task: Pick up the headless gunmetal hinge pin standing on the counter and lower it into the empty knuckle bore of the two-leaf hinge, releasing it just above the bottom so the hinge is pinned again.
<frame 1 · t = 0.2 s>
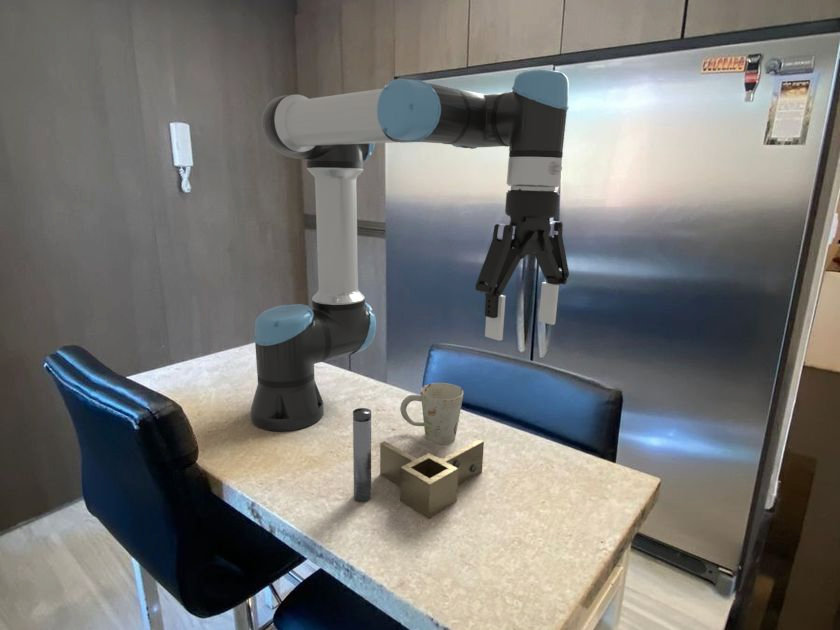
hand: (521, 330, 80), 28 cm above the counter, fingers open, 13 cm apart
hinge: (428, 501, 83), on the counter
pin: (362, 497, 84), on the counter
mug: (429, 436, 104), on the counter
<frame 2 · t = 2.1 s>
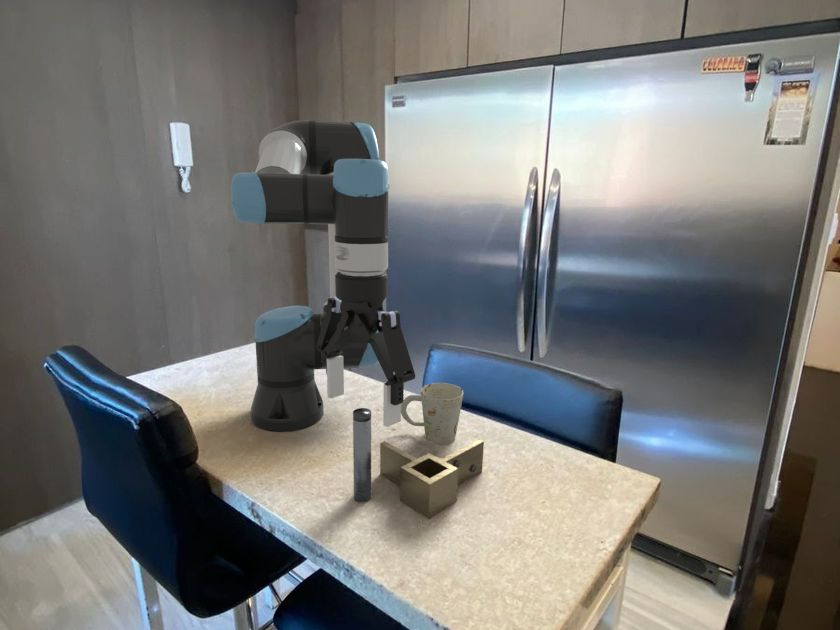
hand: (362, 409, 79), 16 cm above the counter, fingers open, 13 cm apart
nothing on the counter moved.
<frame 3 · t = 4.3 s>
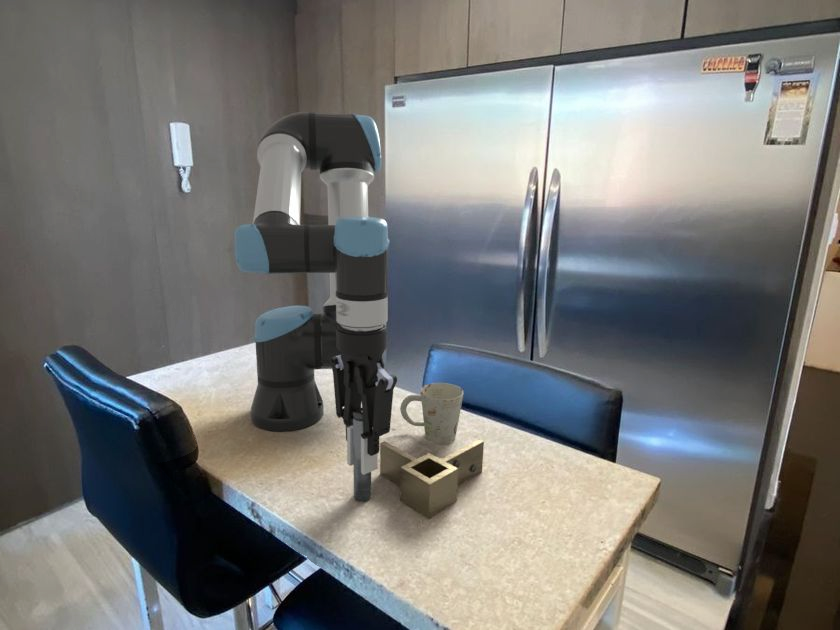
hand: (362, 465, 82), 6 cm above the counter, fingers closed on pin, 3 cm apart
pin: (362, 496, 84), on the counter, touching gripper
everything else where it was.
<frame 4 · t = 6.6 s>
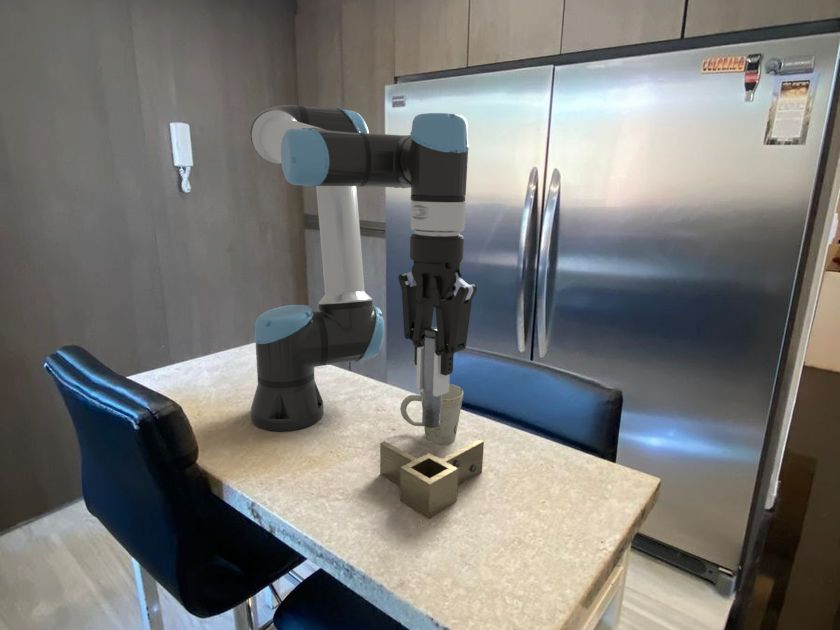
hand: (432, 389, 78), 19 cm above the counter, fingers closed on pin, 3 cm apart
pin: (431, 423, 79), point 14 cm above the counter, touching gripper
everything else where it was.
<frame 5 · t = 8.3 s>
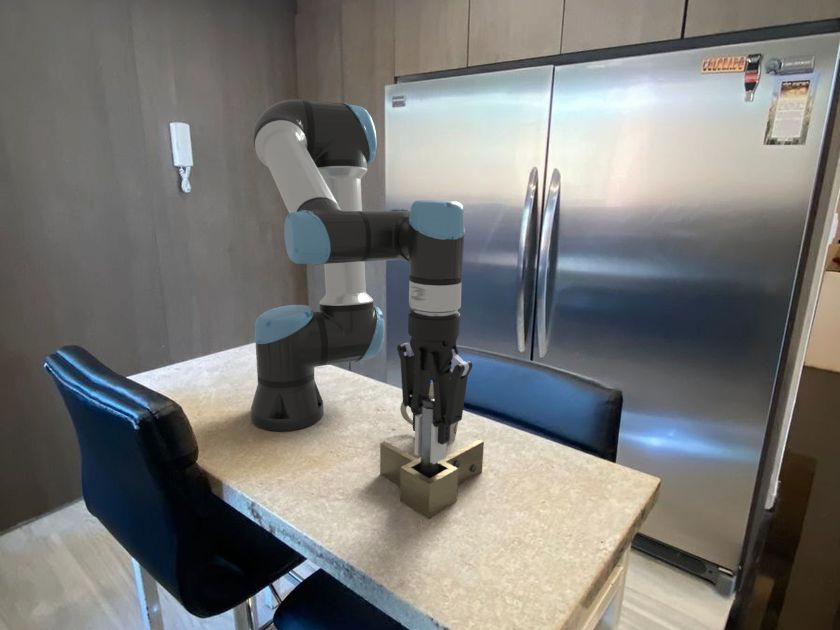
hand: (430, 455, 81), 8 cm above the counter, fingers closed on pin, 3 cm apart
pin: (428, 487, 82), point 3 cm above the counter, touching gripper
everything else where it was.
when the fingers open (7 cm above the counter, at t = 9.4 s): pin drops 2 cm, resting in hinge.
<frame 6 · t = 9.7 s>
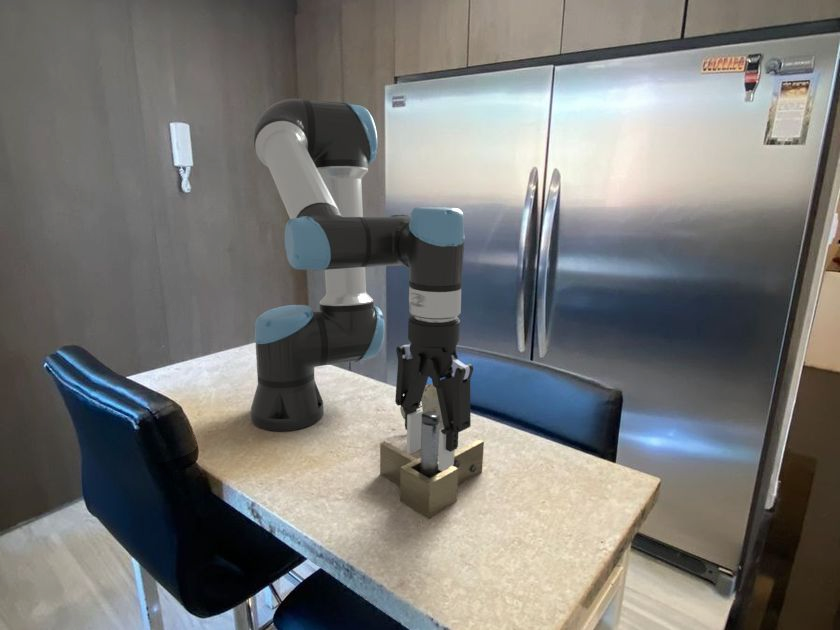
hand: (429, 458, 81), 8 cm above the counter, fingers open, 6 cm apart
pin: (428, 501, 83), resting in hinge
everything else where it was.
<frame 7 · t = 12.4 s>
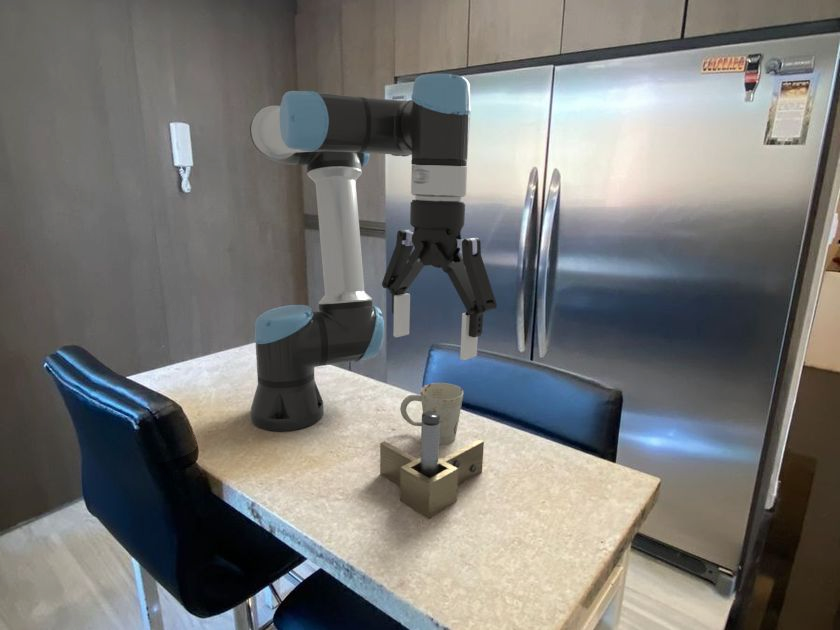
hand: (432, 346, 76), 26 cm above the counter, fingers open, 13 cm apart
nothing on the counter moved.
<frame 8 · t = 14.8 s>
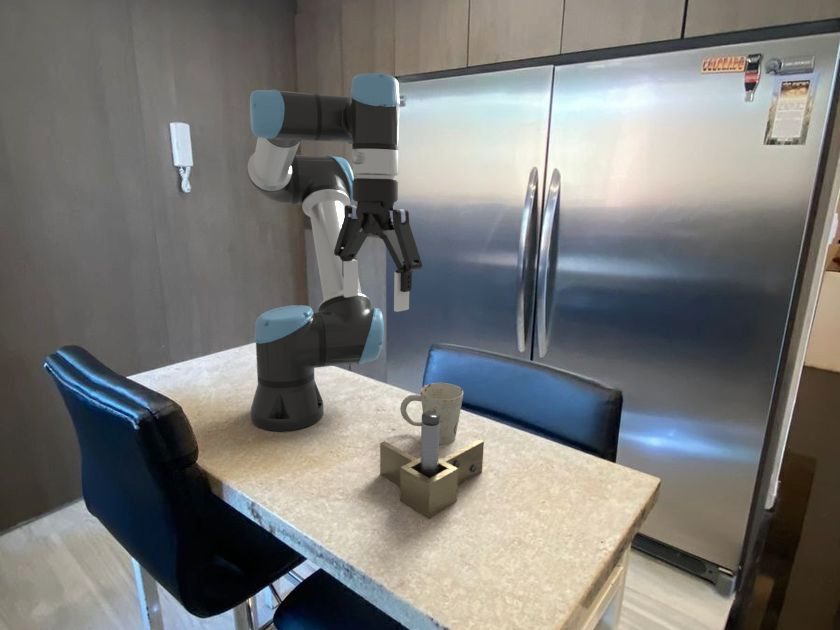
hand: (374, 303, 91), 29 cm above the counter, fingers open, 13 cm apart
nothing on the counter moved.
at the end: pin 0.0 cm off-centre on the hinge, point 0.0 cm above the hinge's base; pin tilted 0°; the gripper is holding nothing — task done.
